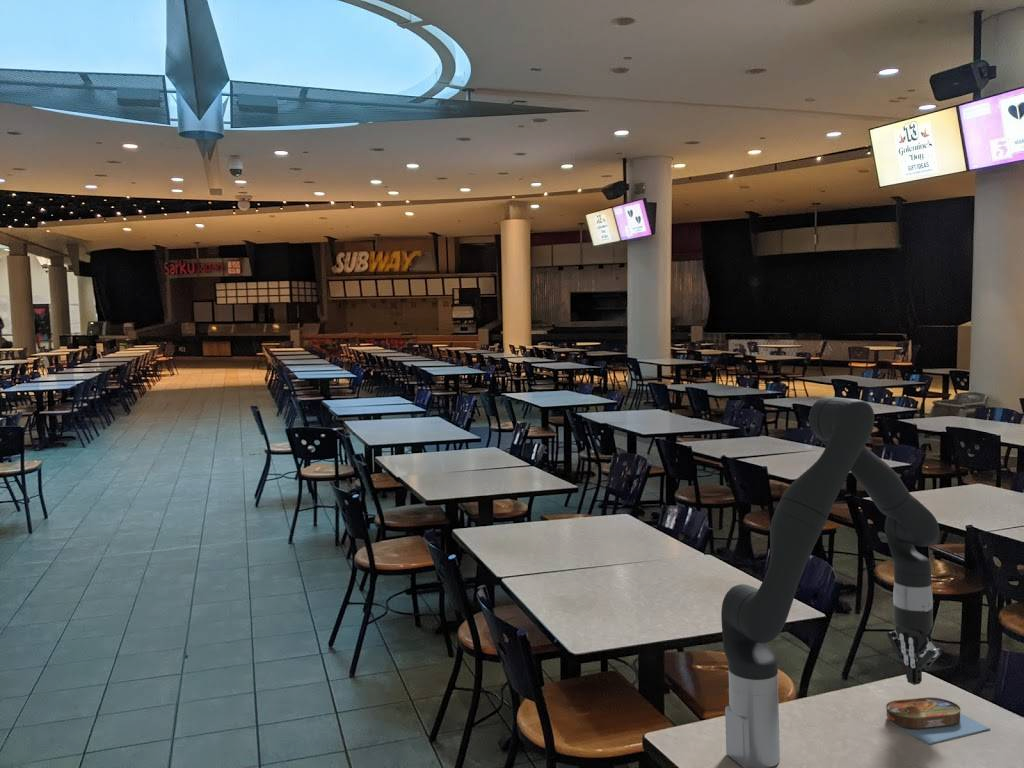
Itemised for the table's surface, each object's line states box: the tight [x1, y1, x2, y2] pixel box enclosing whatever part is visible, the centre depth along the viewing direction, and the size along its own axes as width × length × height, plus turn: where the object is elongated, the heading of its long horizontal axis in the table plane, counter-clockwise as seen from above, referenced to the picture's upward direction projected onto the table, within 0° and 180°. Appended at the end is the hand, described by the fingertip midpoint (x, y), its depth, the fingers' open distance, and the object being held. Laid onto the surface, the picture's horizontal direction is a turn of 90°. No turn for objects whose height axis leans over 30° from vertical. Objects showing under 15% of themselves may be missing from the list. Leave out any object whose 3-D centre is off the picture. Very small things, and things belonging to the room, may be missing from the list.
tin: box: [885, 696, 961, 729], centre depth 167 cm, size 15×3×8 cm
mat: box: [889, 712, 991, 746], centre depth 164 cm, size 16×10×1 cm, turn 108°
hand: (914, 683), depth 170 cm, fingers closed
